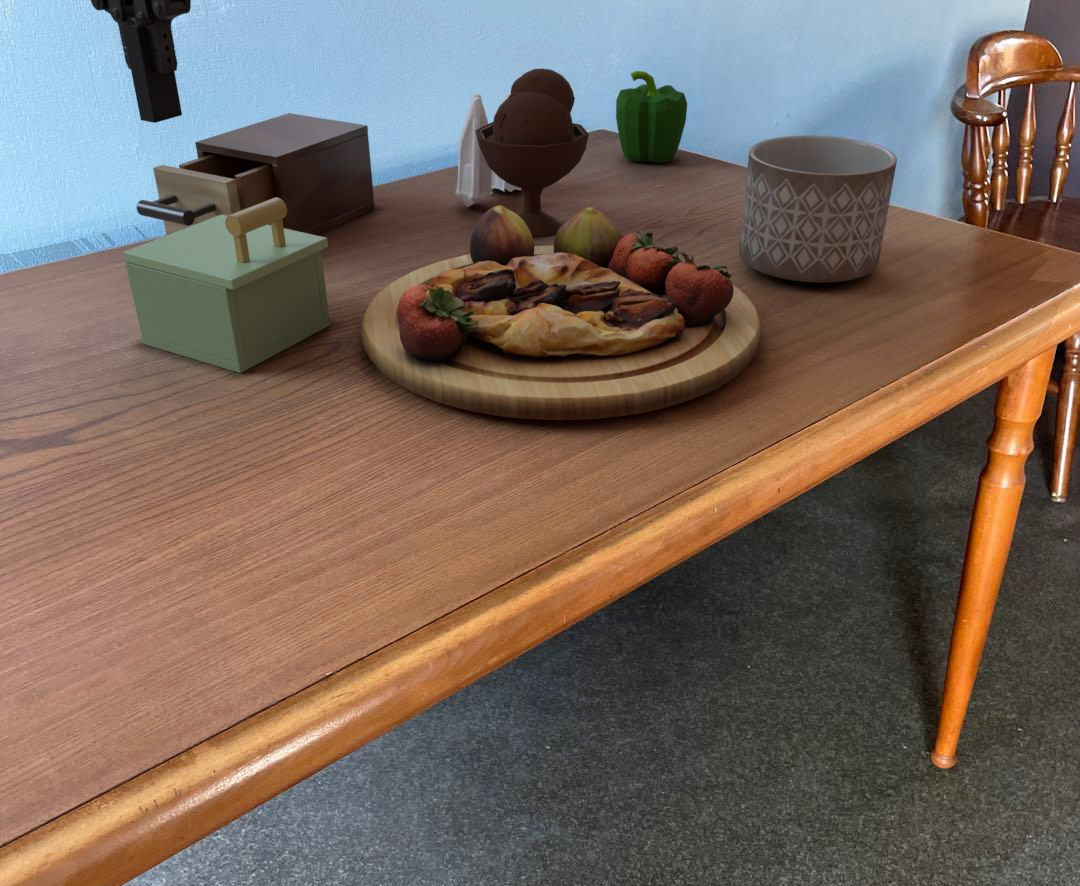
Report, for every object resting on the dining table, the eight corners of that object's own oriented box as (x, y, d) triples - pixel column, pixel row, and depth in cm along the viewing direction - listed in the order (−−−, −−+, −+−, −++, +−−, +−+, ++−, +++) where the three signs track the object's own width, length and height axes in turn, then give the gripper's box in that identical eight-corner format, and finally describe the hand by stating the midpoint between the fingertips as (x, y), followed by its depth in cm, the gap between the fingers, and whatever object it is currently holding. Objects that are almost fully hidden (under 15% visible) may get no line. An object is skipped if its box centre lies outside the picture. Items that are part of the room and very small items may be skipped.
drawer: (205, 269, 99) (191, 194, 95) (133, 251, 103) (117, 178, 99) (325, 218, 111) (317, 150, 107) (256, 204, 115) (246, 137, 111)
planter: (905, 279, 99) (928, 162, 93) (792, 303, 94) (808, 182, 88) (818, 237, 108) (833, 129, 102) (711, 257, 104) (721, 145, 98)
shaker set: (478, 217, 114) (474, 106, 108) (444, 211, 116) (438, 101, 109) (533, 186, 123) (532, 82, 116) (501, 181, 124) (498, 78, 118)
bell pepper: (687, 151, 134) (694, 65, 129) (679, 170, 128) (685, 79, 122) (620, 147, 136) (623, 61, 130) (608, 165, 130) (611, 76, 124)
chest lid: (328, 247, 87) (322, 191, 84) (233, 290, 79) (223, 230, 77) (223, 223, 91) (214, 170, 89) (124, 261, 84) (111, 205, 81)
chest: (330, 325, 91) (320, 245, 87) (240, 373, 83) (225, 288, 79) (236, 300, 95) (223, 223, 91) (143, 344, 88) (124, 262, 84)
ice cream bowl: (487, 209, 116) (483, 58, 108) (591, 213, 115) (595, 61, 106) (468, 242, 107) (462, 81, 99) (581, 247, 106) (584, 84, 98)
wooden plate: (448, 470, 71) (441, 354, 67) (315, 301, 95) (303, 207, 90) (842, 376, 82) (860, 271, 78) (635, 246, 106) (639, 160, 102)
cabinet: (289, 246, 107) (276, 156, 102) (210, 228, 111) (194, 141, 106) (375, 208, 116) (367, 125, 111) (299, 193, 121) (289, 112, 116)
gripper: (207, -275, 68) (261, 118, 82) (67, -270, 74) (139, 97, 87) (113, -280, 63) (187, 141, 76) (-31, -275, 68) (62, 117, 82)
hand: (161, 117), depth 82 cm, fingers closed
